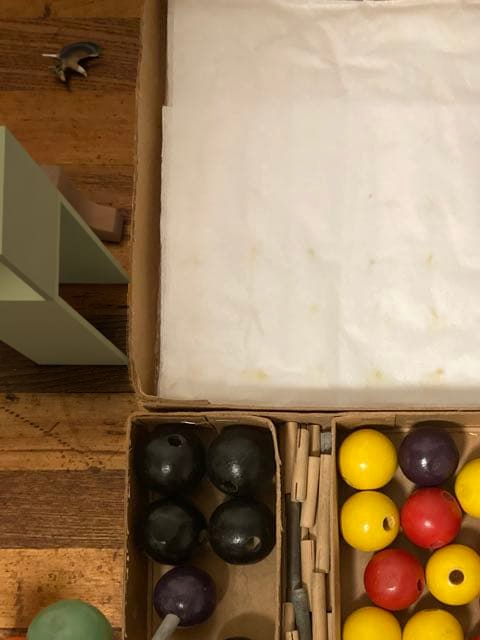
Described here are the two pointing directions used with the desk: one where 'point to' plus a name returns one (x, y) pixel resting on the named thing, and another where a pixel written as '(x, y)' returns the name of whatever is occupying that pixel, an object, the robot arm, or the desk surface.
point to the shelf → (47, 267)
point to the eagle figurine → (73, 57)
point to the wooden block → (86, 206)
